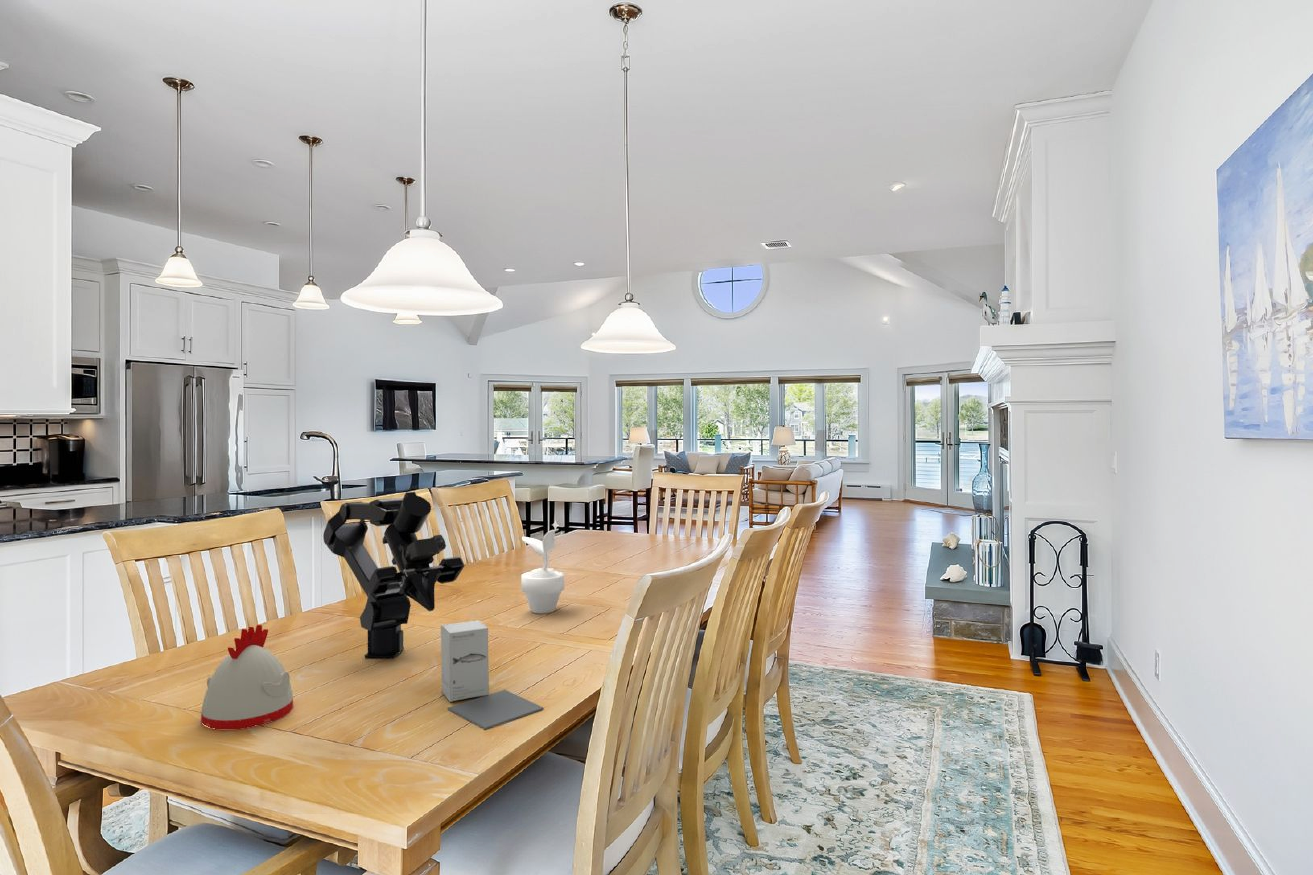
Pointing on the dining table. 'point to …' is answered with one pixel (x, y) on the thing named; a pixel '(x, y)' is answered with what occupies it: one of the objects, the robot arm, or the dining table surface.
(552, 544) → the potted plant
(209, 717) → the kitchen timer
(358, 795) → the dining table surface
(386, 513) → the robot arm
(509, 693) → the mat
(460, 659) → the supplement box
